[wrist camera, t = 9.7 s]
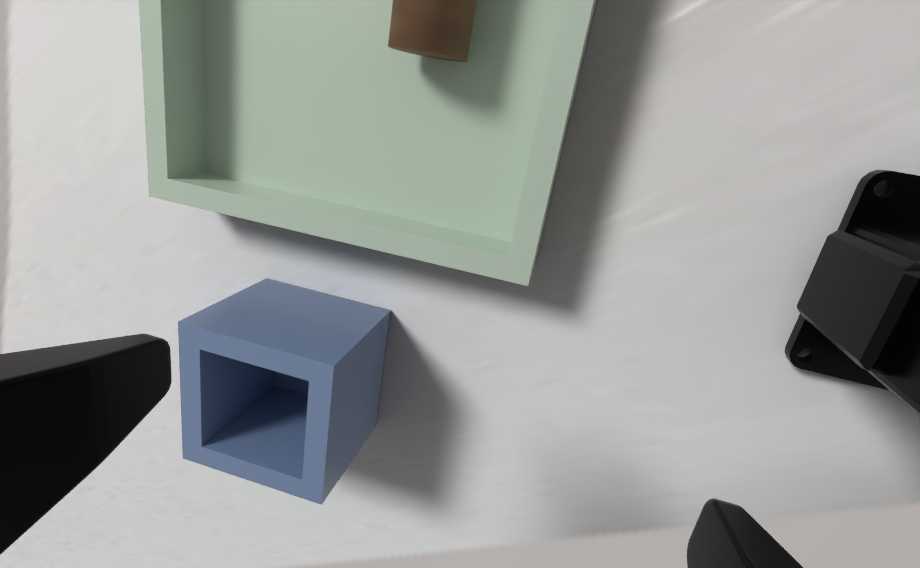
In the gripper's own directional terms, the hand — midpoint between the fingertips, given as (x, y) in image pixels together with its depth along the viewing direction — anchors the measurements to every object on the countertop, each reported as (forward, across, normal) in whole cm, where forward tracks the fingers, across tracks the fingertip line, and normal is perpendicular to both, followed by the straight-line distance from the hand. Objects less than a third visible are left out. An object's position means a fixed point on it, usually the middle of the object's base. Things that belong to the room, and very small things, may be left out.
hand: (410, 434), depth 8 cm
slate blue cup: (+11, +7, +6) cm, 14 cm away
